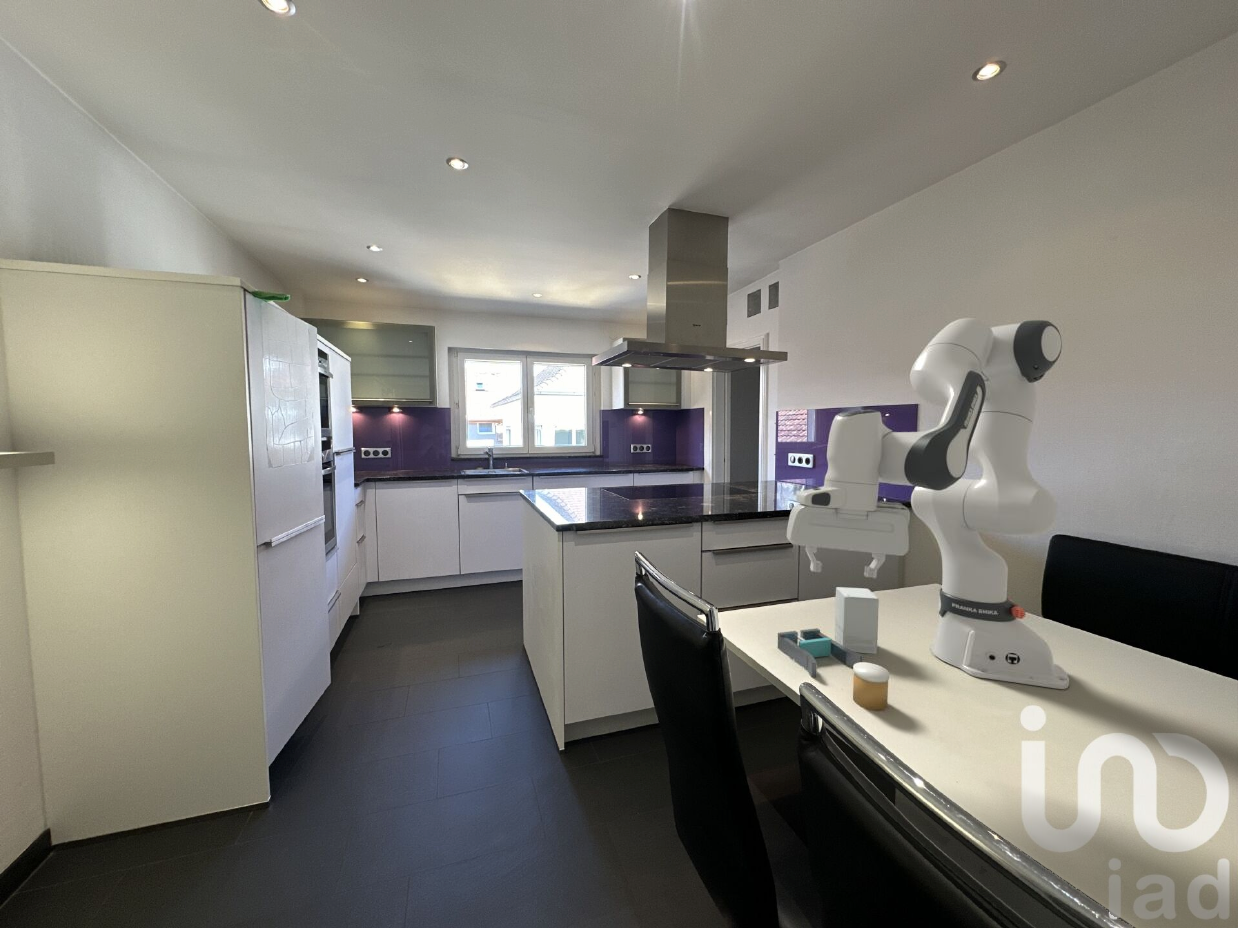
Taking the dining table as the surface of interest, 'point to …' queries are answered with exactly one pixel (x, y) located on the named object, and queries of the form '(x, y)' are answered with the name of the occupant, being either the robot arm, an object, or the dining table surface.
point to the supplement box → (856, 619)
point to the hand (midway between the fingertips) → (842, 574)
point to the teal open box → (816, 646)
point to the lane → (805, 659)
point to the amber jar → (870, 686)
